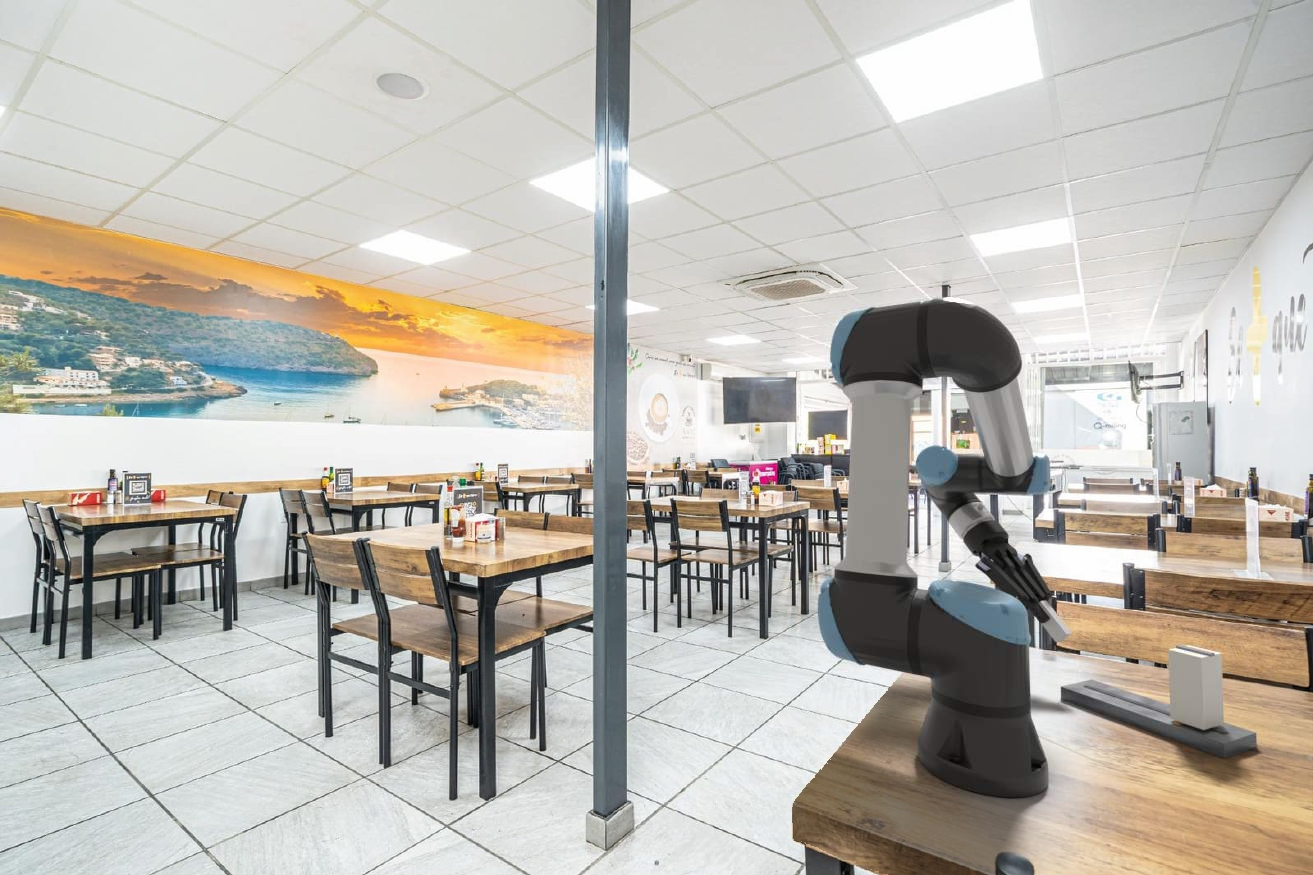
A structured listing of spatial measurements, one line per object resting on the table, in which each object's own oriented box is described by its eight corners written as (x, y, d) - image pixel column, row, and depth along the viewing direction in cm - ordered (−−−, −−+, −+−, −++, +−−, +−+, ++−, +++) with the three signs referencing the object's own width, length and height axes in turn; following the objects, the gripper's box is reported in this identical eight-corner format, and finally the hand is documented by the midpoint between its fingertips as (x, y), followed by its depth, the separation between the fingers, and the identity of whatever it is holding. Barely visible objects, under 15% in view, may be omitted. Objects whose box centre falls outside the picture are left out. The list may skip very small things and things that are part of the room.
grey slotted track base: (1060, 698, 102) (1060, 685, 102) (1091, 691, 106) (1091, 678, 106) (1224, 758, 82) (1224, 742, 82) (1256, 747, 85) (1256, 731, 85)
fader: (1170, 718, 89) (1168, 647, 90) (1190, 712, 91) (1188, 643, 92) (1204, 730, 86) (1202, 655, 86) (1224, 724, 87) (1222, 651, 88)
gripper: (966, 519, 117) (1052, 629, 101) (1014, 517, 122) (1104, 622, 106) (943, 543, 122) (1023, 653, 106) (991, 540, 127) (1074, 645, 110)
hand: (1064, 637), depth 106 cm, fingers closed
